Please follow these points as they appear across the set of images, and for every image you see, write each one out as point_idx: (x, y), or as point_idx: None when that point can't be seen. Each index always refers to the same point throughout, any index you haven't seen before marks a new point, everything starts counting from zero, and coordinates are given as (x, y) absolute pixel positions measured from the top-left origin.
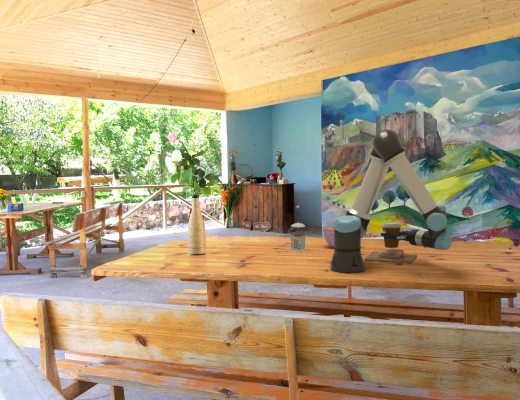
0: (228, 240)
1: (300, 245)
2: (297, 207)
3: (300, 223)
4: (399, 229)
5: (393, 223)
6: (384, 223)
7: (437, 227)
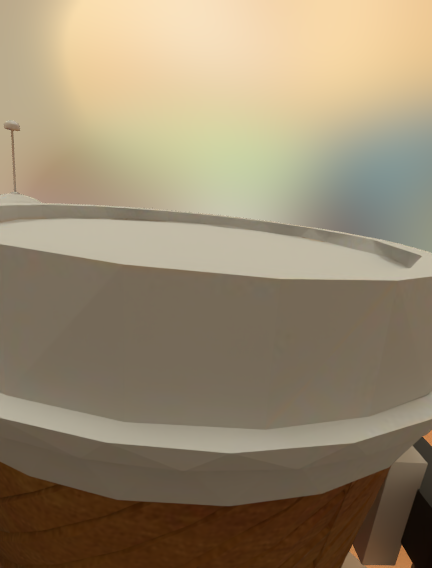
0: None
1: None
2: (5, 126)
3: (18, 195)
4: (318, 525)
5: (264, 248)
6: (10, 204)
7: None
